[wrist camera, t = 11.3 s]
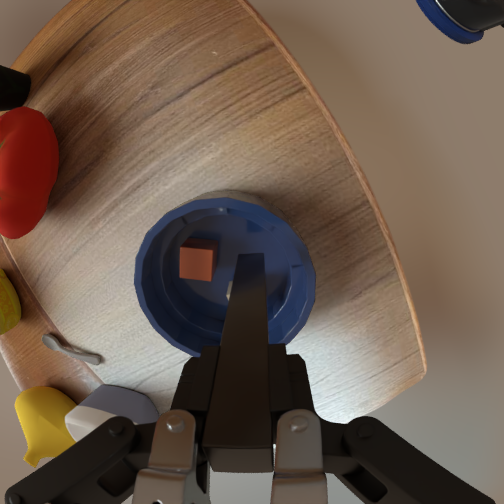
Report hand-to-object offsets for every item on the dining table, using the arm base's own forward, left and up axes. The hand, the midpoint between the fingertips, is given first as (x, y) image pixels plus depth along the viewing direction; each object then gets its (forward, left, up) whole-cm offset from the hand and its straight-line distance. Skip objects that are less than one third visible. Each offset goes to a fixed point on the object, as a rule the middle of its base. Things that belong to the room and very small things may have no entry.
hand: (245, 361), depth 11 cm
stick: (0, 0, -11) cm, 11 cm away
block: (+5, +1, -18) cm, 19 cm away
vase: (+44, +34, -19) cm, 59 cm away
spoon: (+31, +16, -19) cm, 39 cm away
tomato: (+28, -12, -19) cm, 36 cm away
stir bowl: (+3, +3, -18) cm, 19 cm away
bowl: (+24, +29, -19) cm, 42 cm away
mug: (+44, +6, -19) cm, 48 cm away
